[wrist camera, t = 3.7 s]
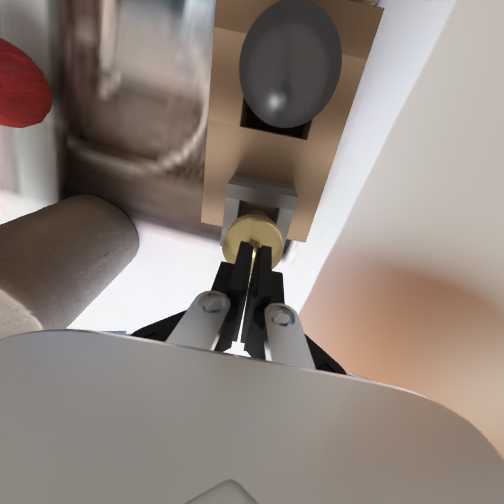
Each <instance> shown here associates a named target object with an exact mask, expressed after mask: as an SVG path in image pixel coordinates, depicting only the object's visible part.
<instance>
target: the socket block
mask: <svg viewBox="0 0 504 504" xmlns="http://www.w3.org/2000/svg"><path fill="white" fill-rule="evenodd" d="M279 1H281V0H216V10H215V25H214V40H213V55H212V69H211V84H210V99H209V114H208V129H207V144H206V159H205V173H204V188H203V203H202V218H201V222H202V223H207V224H212V225H218V226H222V233H221V241H220V246H222V244H223V240H224V237H225V235H226V232H227V230H228V228H229V226H230V225H231V223H232V222H233V221H234V220H236V219H237V218H239V217H241V216H244V215H246V214H247V213H248V212H250V211H252V210H260V211H263V212H264V213H266V214H267V216H268V217H269V219H271V220H272V221H273V222H274V223H275V224H276V225H277V226H278V228H279V230H280V232H281V235H282V244H283V248H284V245H285V241H286V239H290V240H295V241H300V242H306V239H307V236H308V233H309V231H310V228H311V225H312V222H313V219H314V216H315V213H316V210H317V207H318V204H319V201H320V198H321V195H322V192H323V189H324V186H325V183H326V180H327V177H328V174H329V171H330V168H331V165H332V162H333V159H334V156H335V153H336V150H337V147H338V144H339V141H340V139H341V136H342V133H343V130H344V127H345V124H346V121H347V118H348V115H349V112H350V109H351V106H352V103H353V100H354V97H355V94H356V91H357V88H358V85H359V82H360V79H361V76H362V73H363V70H364V67H365V64H366V61H367V58H368V55H369V52H370V50H371V47H372V44H373V41H374V38H375V35H376V32H377V29H378V26H379V23H380V20H381V17H382V14H383V11H384V8H381V7H377V6H372V5H367V4H363V3H358V2H354V1H349V0H309V1H312V2H314V3H315V4H317V5H319V6H320V7H321V8H323V9H324V10H325V11H326V13H327V14H328V15H329V16H330V17H331V19H332V21H333V22H334V24H335V26H336V28H337V31H338V34H339V37H340V41H341V47H342V66H341V73H340V77H339V81H338V84H337V87H336V89H335V91H334V93H333V96H332V97H331V99H330V101H329V102H328V104H327V105H326V106H325V107H324V109H323V110H322V111H321V112H320V113H319V114H318V115H317V116H315V117H314V118H313V119H311V120H310V121H308V122H306V123H305V124H304V128H303V131H302V135H301V137H298V136H293V135H288V134H283V133H278V132H273V131H269V130H264V129H259V128H254V127H249V126H245V121H246V114H247V107H248V104H247V102H246V100H245V97H244V95H243V92H242V88H241V85H240V78H239V60H240V54H241V49H242V45H243V42H244V40H245V37H246V35H247V33H248V31H249V29H250V27H251V25H252V24H253V23H254V21H255V20H256V19H257V17H258V16H259V15H260V14H261V13H262V12H263V11H264V10H266V9H267V8H268V7H270V6H271V5H273V4H274V3H277V2H279Z"/></svg>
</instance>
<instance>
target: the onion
mask: <svg viewBox="0 0 504 504" xmlns="http://www.w3.org/2000/svg"><path fill="white" fill-rule="evenodd" d="M51 104H52V96H51V91H50V87H49V85H48V83H47V81H46V79H45V77H44V75H43V73H42V71H41V70H40V69H39V68H38V67H37V65H36V64H35V63H34V62H33V61H32V60H31V58H30V57H28V56H27V55H26V54H25V53H24V52H23V51H22V50H20V49H19V48H17V47H15V46H14V45H12V44H11V43H9V42H7V41H6V40H4V39H2V38H0V125H4V126H9V127H15V128H24V127H28V126H31V125H34V124H38V123H41V122H42V121H43V119H44V118H45V116H46V115H47V114H48V113H49V111H50V110H51Z"/></svg>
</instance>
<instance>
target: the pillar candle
mask: <svg viewBox="0 0 504 504" xmlns="http://www.w3.org/2000/svg"><path fill="white" fill-rule="evenodd" d="M138 241H139V240H138V235H137V232H136V230H135V227H134V225H133V223H132V222H131V221H130V219H129V218H128V217H127V216H126V215H125V214H124V213H123V212H122V211H121V210H120V209H119V208H118V207H116V206H115V205H113V204H112V203H110V202H108V201H106V200H104V199H102V198H100V197H97V196H94V195H90V194H78V195H74V196H71V197H68V198H67V199H65V200H63V201H60V202H58V203H55V204H53V205H49V206H47V207H44V208H42V209H40V210H38V211H36V212H33V213H30V214H27V215H24V216H22V217H19V218H17V219H14V220H12V221H9V222H7V223H4V224H1V225H0V339H2V338H5V337H8V336H12V335H16V334H20V333H26V332H32V331H40V330H49V329H66V328H67V327H68V326H69V325H70V324H71V323H72V322H73V321H74V320H75V319H76V317H77V316H78V315H79V314H80V313H81V312H82V311H83V310H84V309H85V308H86V307H87V306H88V305H89V304H90V303H91V302H92V301H93V300H94V299H95V298H96V297H97V296H98V295H99V294H100V293H101V292H102V291H103V290H104V289H105V288H106V287H107V286H108V285H109V284H110V283H111V282H112V281H113V280H114V278H115V277H116V276H117V275H118V274H119V273H120V272H121V271H122V270H123V269H124V268H125V267H126V266H127V265H128V264H129V263H130V262H131V261H132V259H133V258H134V257H135V255H136V253H137V250H138V245H139V242H138Z"/></svg>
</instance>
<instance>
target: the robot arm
mask: <svg viewBox="0 0 504 504" xmlns="http://www.w3.org/2000/svg"><path fill="white" fill-rule="evenodd" d="M250 244H251V243H249V242H244V241H241V242H240V246H239V249H238V253H237V257H236V261H235V264H233V263H228V262H221V264H220V267H219V270H218V272H217V275H216V278H215V281H214V283H213V286H212V289H211V291H206V292H203V293H201V294H199V295H198V296H197V297H196V298H195V300H194V301H193V303H192V304H191V305H190V307H189V308H188V310H185V311H183V312H180V313H178V314H175V315H173V316H170V317H168V318H165V319H163V320H160V321H158V322H155V323H153V324H150V325H148V326H146V327H143V328H141V329H139V330H137V331H135V332H134V333H132V334H127V332H126V331H91V330H79V329H49V330H40V331H32V332H26V333H20V334H16V335H12V336H8V337H5V338H2V339H0V504H504V458H503V456H502V455H501V454H500V453H499V451H498V450H497V449H496V448H495V447H494V445H493V444H492V443H491V442H490V441H489V440H488V438H487V437H486V436H485V435H484V434H483V433H482V432H481V431H480V430H479V429H478V428H477V427H476V426H474V425H473V424H472V423H471V422H470V421H468V420H467V419H466V418H464V417H462V416H461V415H460V414H458V413H457V412H455V411H453V410H452V409H450V408H448V407H446V406H445V405H443V404H441V403H439V402H437V401H435V400H433V399H431V398H428V397H426V396H423V395H421V394H418V393H416V392H413V391H410V390H407V389H404V388H400V387H397V386H392V385H388V384H384V383H379V382H375V381H372V380H370V379H367V378H365V377H362V376H360V375H357V374H355V373H352V372H351V373H350V375H349V374H346V372H345V371H344V369H343V368H342V367H341V366H340V365H339V364H338V363H337V362H336V361H335V360H334V359H332V358H331V357H330V356H329V355H328V354H327V353H326V352H325V351H323V350H322V349H321V348H320V347H319V346H318V345H317V344H316V343H315V342H313V341H312V340H311V339H310V338H309V337H308V336H307V335H305V334H304V332H303V328H302V326H301V322H300V319H299V316H298V314H297V313H296V311H295V310H294V309H292V308H291V307H290V306H288V305H285V302H284V288H283V275H282V273H280V272H275V271H272V247H270V246H265V245H261V247H257V250H256V255H255V259H254V264H253V268H252V273H251V278H250V271H251V264H252V258H253V251H254V246H251V245H250ZM249 278H250V282H249ZM248 285H249V287H248ZM247 291H248V293H247ZM246 297H247V300H246ZM245 301H246V307H245V314H244V321H243V327H242V334H241V343H245V345H244V351H247V352H248V353H249V355H250V356H251V357H246V356H240V355H235V354H229V353H224V351H226V350H227V349H229V348H231V345H232V341H235V342H237V338H238V334H239V329H240V324H241V320H242V315H243V311H244V306H245Z"/></svg>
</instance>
